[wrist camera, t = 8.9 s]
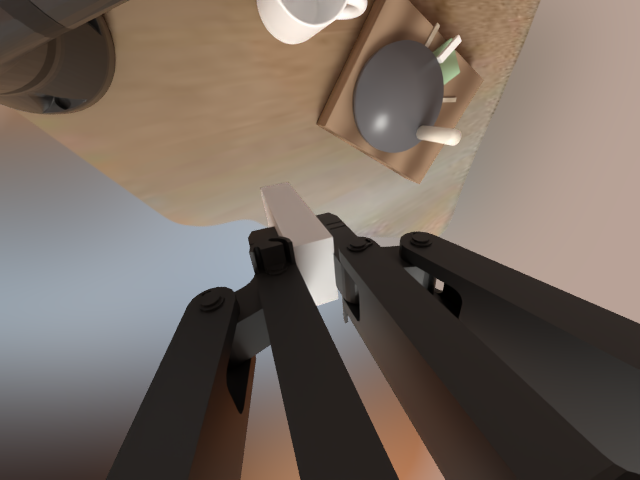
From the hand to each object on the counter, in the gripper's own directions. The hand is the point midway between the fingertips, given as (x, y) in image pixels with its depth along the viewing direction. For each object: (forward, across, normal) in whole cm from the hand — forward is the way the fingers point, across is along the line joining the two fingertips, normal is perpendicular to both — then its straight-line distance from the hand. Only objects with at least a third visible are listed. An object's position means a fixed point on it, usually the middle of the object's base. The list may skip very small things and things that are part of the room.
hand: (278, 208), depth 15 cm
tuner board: (+28, +25, +2) cm, 38 cm away
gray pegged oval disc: (+24, +24, +3) cm, 34 cm away
